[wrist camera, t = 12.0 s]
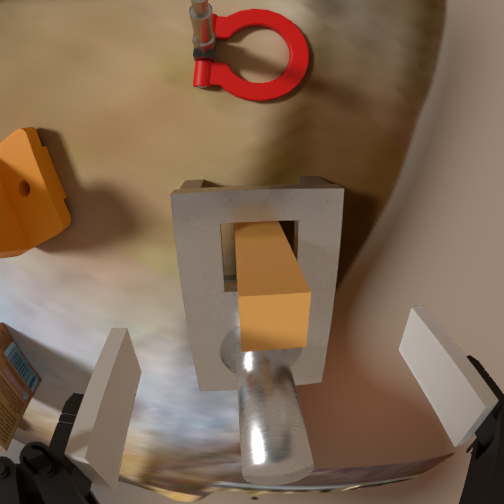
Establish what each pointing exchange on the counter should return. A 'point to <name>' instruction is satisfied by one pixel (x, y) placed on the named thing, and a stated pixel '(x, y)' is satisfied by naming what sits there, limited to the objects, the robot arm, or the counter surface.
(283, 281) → the wedge pin
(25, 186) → the bracket
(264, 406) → the windowed plate knob
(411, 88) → the counter surface
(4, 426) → the milk carton
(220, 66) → the tow hook
